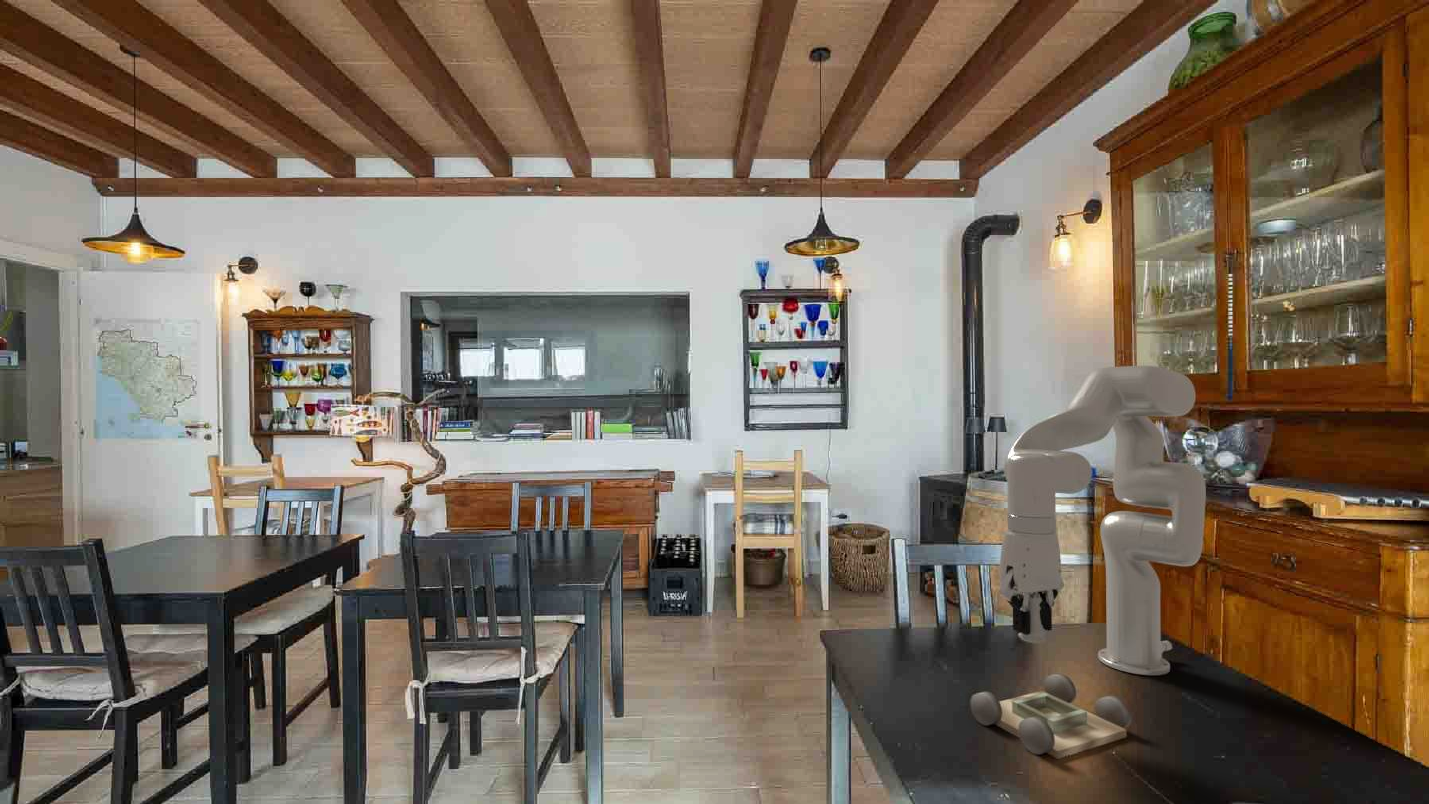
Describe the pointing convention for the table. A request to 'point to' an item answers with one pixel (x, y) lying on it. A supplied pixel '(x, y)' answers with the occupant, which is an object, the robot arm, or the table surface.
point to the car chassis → (1054, 718)
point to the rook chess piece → (1034, 621)
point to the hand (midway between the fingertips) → (1032, 629)
